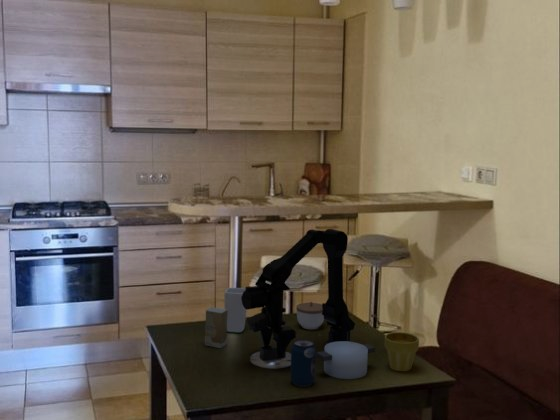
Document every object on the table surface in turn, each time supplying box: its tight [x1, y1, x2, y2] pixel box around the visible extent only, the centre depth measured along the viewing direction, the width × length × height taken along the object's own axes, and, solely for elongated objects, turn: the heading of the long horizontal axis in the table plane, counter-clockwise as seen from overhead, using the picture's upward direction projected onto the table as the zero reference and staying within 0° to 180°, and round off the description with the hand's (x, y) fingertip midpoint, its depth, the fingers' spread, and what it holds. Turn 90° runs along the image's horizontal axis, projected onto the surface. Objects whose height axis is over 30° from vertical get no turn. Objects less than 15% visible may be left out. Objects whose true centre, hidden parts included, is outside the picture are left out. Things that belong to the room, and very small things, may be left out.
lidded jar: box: [296, 301, 325, 331], centre depth 238 cm, size 11×11×9 cm
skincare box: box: [204, 307, 228, 349], centre depth 216 cm, size 6×4×12 cm
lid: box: [250, 344, 291, 370], centre depth 204 cm, size 14×14×5 cm
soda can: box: [290, 338, 316, 387], centre depth 186 cm, size 7×7×12 cm
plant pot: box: [383, 331, 420, 372], centre depth 200 cm, size 10×10×10 cm
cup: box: [223, 287, 247, 334], centre depth 231 cm, size 7×7×15 cm
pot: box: [315, 341, 376, 380], centre depth 196 cm, size 19×13×7 cm
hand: (272, 352), depth 204 cm, fingers open, 9 cm apart
